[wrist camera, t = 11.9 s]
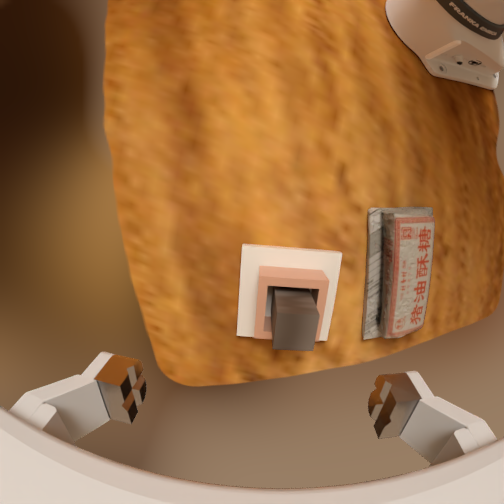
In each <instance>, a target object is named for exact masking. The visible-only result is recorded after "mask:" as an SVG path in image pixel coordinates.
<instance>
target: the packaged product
mask: <svg viewBox="0 0 504 504" xmlns="http://www.w3.org/2000/svg"><path fill="white" fill-rule="evenodd" d="M434 230H435V219H434V217H433V208H432V207H400V208H370V209H368V244H367V262H366V278H365V292H364V308H363V324H362V336H363V340H365V339H371V338H376V337H383V338H384V339H386V338H400V337H403V336H405V335H406V334H409V333H411V332H414V331H417V330H419V329H421V328H422V327H423V324H424V319H425V314H426V308H427V302H428V294H429V287H430V279H431V270H432V260H433V248H434Z"/></svg>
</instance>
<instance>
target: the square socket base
mask: <svg viewBox="0 0 504 504" xmlns="http://www.w3.org/2000/svg"><path fill="white" fill-rule="evenodd" d="M341 258H342V253H341V252H340V251H330V250H317V249H305V248H292V247H280V246H267V245H254V244H243V245H242V256H241V272H240V289H239V306H238V323H237V336H247V337H254V338H258V339H272V326H271V303H272V294H273V286H281V287H296V288H309V290H310V292H311V295H312V297H313V300H314V302H315V304H316V307H317V309H318V312H319V314H320V317H319V323H318V328H317V333H316V338H315V341H319V340H322V341H327V337H328V332H329V327H330V322H331V317H332V312H333V307H334V301H335V296H336V290H337V284H338V278H339V272H340V265H341Z"/></svg>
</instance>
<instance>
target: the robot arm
mask: <svg viewBox="0 0 504 504" xmlns="http://www.w3.org/2000/svg"><path fill="white" fill-rule="evenodd" d="M386 14H387V17H388V20H389V22H390V24H391V26H392V28H393V29H394V31H395V32H396V33H397V35H398V36H399V37H400V38H401V40H402V41H403V42H404V43H405V44H406V45H407V46H408V47H409V48H410V49H411V50H412V51H414V52H415V53H416V54H417V55H418V56H419V58H420V59H421V61H422V62H423V64H424V65H425V67H426V69H427V70H428V71H429V72H430V74H432V75H433V76H436V77H441V78H446V79H451V80H455V81H459V82H464V83H468V84H472V85H475V86H479V87H483V88H486V89H489V90H494V89H496V87H497V85H498V78H499V73H498V72H499V71H501V70H502V69H503V68H504V44H503V39H502V35H501V34H502V33H503V31H504V0H387V2H386ZM440 69H441V70H440ZM142 371H143V365H142V362H141V361H140V360H137V359H133V358H128V357H124V356H120V355H115V354H111V353H107V352H101V353H100V354H99V355H98V356H97V358H96V359H95V360H94V361H93V362H92V363H91V364H90V365H89V367H88V368H87V369H86V370H85V371H84V372H83V373H82V375H81V376H80V375H75V376H72V377H70V378H67V379H64V380H61V381H58V382H56V383H53V384H50V385H47V386H44V387H41V388H38V389H35V390H32V391H29V392H26V393H25V394H24V395H23V396H22V397H21V398H20V399H19V400H18V402H17V403H16V404H15V405H14V406H13V407H12V408H11V409H10V410H9V411H8V410H6V409H5V408H3V407H2V406H0V504H504V437H503V438H501V439H499V440H497V438H496V437H495V435H494V434H493V432H492V431H491V429H490V428H489V426H488V425H487V423H486V422H485V421H484V420H483V419H481V418H479V417H477V416H475V415H473V414H471V413H469V412H467V411H465V410H463V409H461V408H459V407H457V406H455V405H454V404H452V403H450V402H448V401H446V400H444V399H442V398H440V397H438V396H437V397H434V395H433V394H432V392H431V391H430V389H429V388H428V386H427V385H426V383H425V382H424V380H423V379H422V377H421V376H420V374H419V373H418V372H417V371H409V372H404V373H395V374H385V375H379V376H378V377H377V378H376V381H375V386H376V389H375V390H374V391H373V392H372V393H371V394H370V397H369V401H368V411H369V414H370V417H371V418H372V419H374V420H375V421H376V422H375V424H374V428H375V431H376V433H377V436H378V439H382V438H390V437H396V436H400V438H401V439H402V440H403V441H405V442H406V443H407V444H408V445H409V446H410V447H412V448H413V449H414V450H415V451H416V452H418V453H419V454H420V455H421V456H422V457H424V458H425V459H426V460H427V461H429V462H430V463H431V464H430V466H429V467H428V468H424V469H421V470H417V471H413V472H409V473H406V474H401V475H397V476H393V477H388V478H383V479H378V480H372V481H367V482H360V483H354V484H346V485H338V486H327V487H314V488H291V489H290V488H284V489H283V488H282V489H281V488H276V489H275V488H274V489H273V488H250V487H237V486H227V485H226V486H225V485H218V484H210V483H203V482H197V481H191V480H185V479H180V478H175V477H170V476H166V475H162V474H157V473H153V472H149V471H145V470H142V469H138V468H135V467H131V466H128V465H125V464H122V463H118V462H115V461H113V460H110V459H107V458H104V457H101V456H98V455H96V454H93V453H91V452H88V451H86V450H83V449H80V448H78V447H76V445H75V443H74V442H75V441H76V440H78V439H80V438H81V437H83V436H85V435H86V434H88V433H90V432H91V431H93V430H95V429H96V428H98V427H99V426H101V425H103V424H104V423H106V422H107V421H109V420H110V419H113V420H117V421H121V422H124V423H128V424H132V422H133V420H134V418H135V417H136V415H137V413H138V410H137V406H138V405H140V404H142V403H143V401H144V399H145V395H146V380H145V378H144V377H143V376H142V375H141V373H142Z"/></svg>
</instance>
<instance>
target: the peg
mask: <svg viewBox="0 0 504 504" xmlns="http://www.w3.org/2000/svg"><path fill="white" fill-rule="evenodd" d="M319 317H320V314H319V312H318V309H317V307H316V304H315V302H314V300H313V297H312V295H311V292H310V290H309V288H296V287H281V286H273V294H272V303H271V326H272V346H273V349H278V350H299V351H313V349H314V344H315V338H316V333H317V328H318V323H319Z"/></svg>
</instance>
